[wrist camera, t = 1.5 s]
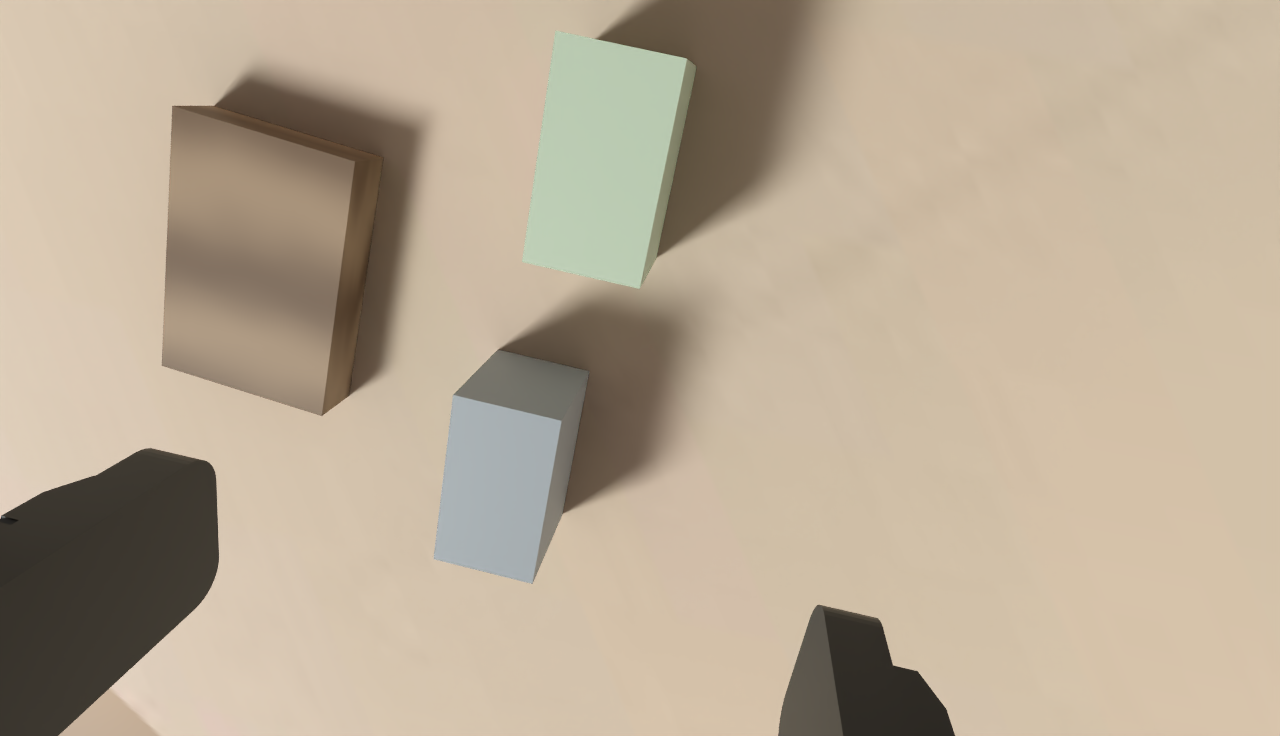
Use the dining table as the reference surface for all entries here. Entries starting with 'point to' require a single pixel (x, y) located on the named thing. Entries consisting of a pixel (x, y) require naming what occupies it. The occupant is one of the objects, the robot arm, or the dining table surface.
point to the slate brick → (508, 464)
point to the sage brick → (606, 158)
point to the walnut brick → (266, 256)
